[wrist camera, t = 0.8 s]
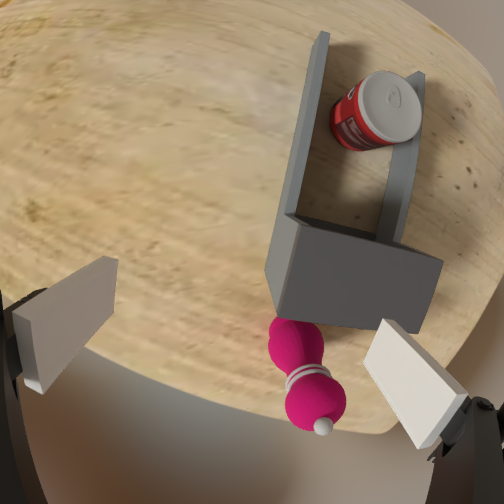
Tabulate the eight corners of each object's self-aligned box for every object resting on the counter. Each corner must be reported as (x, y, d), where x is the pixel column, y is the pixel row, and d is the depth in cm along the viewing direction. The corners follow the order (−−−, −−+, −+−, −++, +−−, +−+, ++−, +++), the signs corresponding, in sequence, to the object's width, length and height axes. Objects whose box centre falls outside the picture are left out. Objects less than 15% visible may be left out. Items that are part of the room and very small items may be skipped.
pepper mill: (324, 328, 40) (377, 423, 21) (288, 359, 41) (316, 463, 22) (292, 297, 39) (336, 391, 19) (254, 331, 40) (266, 438, 20)
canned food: (375, 98, 33) (416, 75, 22) (382, 152, 35) (427, 144, 24) (324, 95, 33) (354, 65, 22) (331, 152, 35) (365, 140, 24)
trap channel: (312, 46, 31) (343, -9, 17) (407, 83, 33) (465, 54, 19) (264, 270, 38) (278, 317, 24) (367, 289, 39) (418, 334, 25)
